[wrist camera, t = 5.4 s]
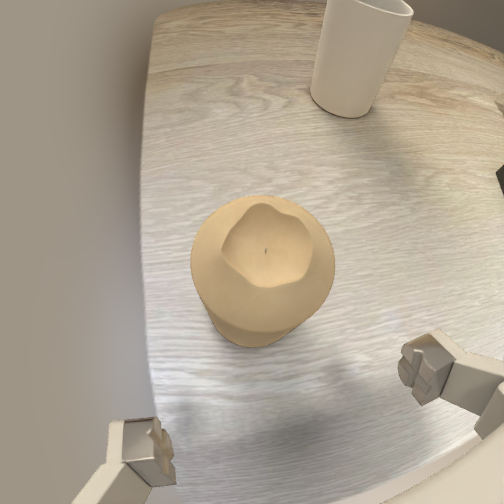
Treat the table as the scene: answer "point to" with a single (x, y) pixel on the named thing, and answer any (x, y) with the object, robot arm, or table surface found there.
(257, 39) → the table surface
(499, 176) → the scale
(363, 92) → the mug
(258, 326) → the candle
